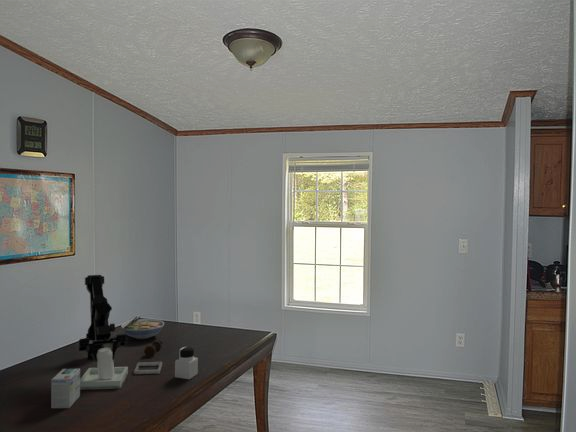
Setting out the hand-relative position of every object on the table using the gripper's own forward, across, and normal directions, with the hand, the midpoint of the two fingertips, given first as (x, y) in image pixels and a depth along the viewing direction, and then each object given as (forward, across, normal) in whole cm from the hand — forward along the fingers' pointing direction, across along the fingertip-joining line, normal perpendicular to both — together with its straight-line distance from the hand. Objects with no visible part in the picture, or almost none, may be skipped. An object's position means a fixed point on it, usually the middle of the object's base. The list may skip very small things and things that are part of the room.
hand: (104, 360), depth 190 cm
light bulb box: (+16, -15, -3) cm, 22 cm away
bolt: (-15, +27, +29) cm, 42 cm away
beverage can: (+5, +1, +6) cm, 8 cm away
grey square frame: (+1, +19, +11) cm, 22 cm away
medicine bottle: (+11, +32, +2) cm, 34 cm away
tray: (+5, 0, +7) cm, 9 cm away
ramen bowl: (-34, +26, +48) cm, 64 cm away
